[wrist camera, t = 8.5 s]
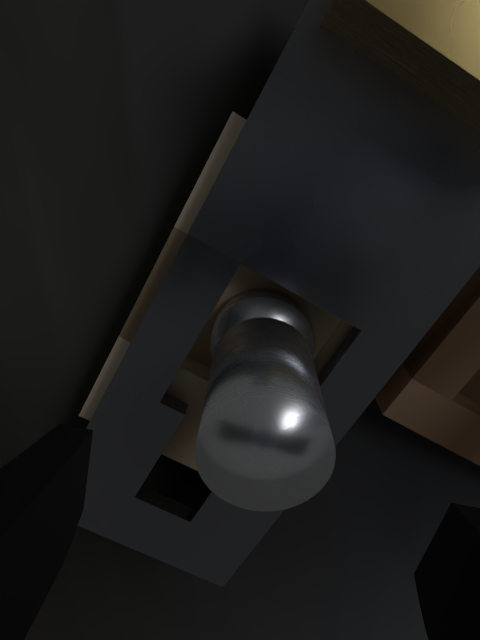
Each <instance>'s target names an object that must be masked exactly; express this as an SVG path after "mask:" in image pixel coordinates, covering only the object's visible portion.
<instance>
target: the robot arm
mask: <svg viewBox="0 0 480 640" xmlns="http://www.w3.org/2000/svg"><path fill="white" fill-rule="evenodd" d="M92 435H93V430H89V429H84V428H80V427H75V426H70V425H65V424H60V425H59V426H57V427H55V428H54V429H52V430H51V431H50V432H49V433H47V434H46V435H45V436H43V437H42V438H41V439H39V440H38V441H37V442H36V443H34V444H33V445H32V446H30V447H29V448H28V449H26V450H25V451H24V452H22V453H21V454H20V455H18V456H17V457H16V458H14V459H13V460H12V461H10V462H9V463H8V464H6V465H5V466H4V467H2V468H1V469H0V640H24V639H25V637H26V635H27V633H28V631H29V629H30V627H31V625H32V623H33V621H34V619H35V617H36V615H37V613H38V612H39V610H40V608H41V606H42V604H43V602H44V600H45V598H46V596H47V594H48V592H49V590H50V588H51V586H52V584H53V582H54V580H55V578H56V576H57V574H58V572H59V570H60V568H61V566H62V564H63V562H64V559H65V557H66V554H67V552H68V549H69V547H70V544H71V542H72V539H73V536H74V534H75V531H76V528H77V526H78V523H79V521H80V518H81V515H82V513H83V509H84V501H85V493H86V484H87V476H88V468H89V460H90V451H91V443H92ZM414 577H415V582H416V587H417V592H418V597H419V602H420V607H421V611H422V616H423V620H424V624H425V629H426V632H427V636H428V639H429V640H480V508H475V507H470V506H465V505H460V504H455V503H451V505H450V507H449V508H448V510H447V512H446V514H445V516H444V518H443V520H442V522H441V524H440V526H439V527H438V529H437V531H436V533H435V535H434V537H433V539H432V541H431V543H430V545H429V546H428V548H427V550H426V552H425V554H424V556H423V558H422V560H421V562H420V564H419V566H418V567H417V569H416V571H415V573H414Z"/></svg>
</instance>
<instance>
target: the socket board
mask: <svg viewBox="0 0 480 640" xmlns="http://www.w3.org/2000/svg"><path fill="white" fill-rule="evenodd" d="M246 121H247V120H246V119H244V118H243V117H241V116H240V115H238V114H236V113H235V112H232V114H231V115H230V117H229V119H228V121H227V123H226V125H225V127H224V129H223V131H222V133H221V135H220V137H219V139H218V141H217V143H216V145H215V147H214V149H213V151H212V153H211V155H210V157H209V159H208V161H207V163H206V165H205V167H204V169H203V171H202V173H201V175H200V177H199V179H198V181H197V183H196V185H195V187H194V189H193V191H192V193H191V195H190V196H189V198H188V200H187V202H186V204H185V206H184V208H183V210H182V212H181V214H180V216H179V218H178V220H177V222H176V224H175V226H174V228H173V230H172V232H171V234H170V236H169V238H168V240H167V242H166V244H165V246H164V248H163V250H162V252H161V254H160V256H159V258H158V260H157V262H156V264H155V266H154V268H153V270H152V272H151V274H150V276H149V277H148V279H147V281H146V283H145V285H144V287H143V289H142V291H141V293H140V295H139V297H138V299H137V301H136V303H135V305H134V307H133V309H132V311H131V313H130V315H129V317H128V319H127V321H126V323H125V325H124V327H123V329H122V331H121V333H120V335H119V337H118V339H117V341H116V343H115V345H114V347H113V349H112V351H111V353H110V355H109V357H108V358H107V360H106V362H105V364H104V366H103V368H102V370H101V372H100V374H99V376H98V378H97V380H96V382H95V384H94V386H93V388H92V390H91V392H90V394H89V396H88V398H87V400H86V402H85V404H84V406H83V408H82V410H81V412H80V414H79V416H81V417H83V418H85V419H87V420H89V421H90V420H91V418H92V416H93V414H94V412H95V410H96V409H97V407H98V405H99V403H100V401H101V399H102V397H103V395H104V393H105V391H106V389H107V387H108V385H109V384H110V382H111V380H112V378H113V376H114V374H115V372H116V370H117V368H118V366H119V364H120V362H121V361H122V359H123V357H124V355H125V353H126V351H127V349H128V347H129V345H130V343H131V341H132V339H133V338H134V336H135V334H136V332H137V330H138V328H139V326H140V324H141V322H142V320H143V318H144V316H145V314H146V313H147V311H148V309H149V307H150V305H151V303H152V301H153V299H154V297H155V295H156V293H157V291H158V290H159V288H160V286H161V284H162V282H163V280H164V278H165V276H166V274H167V272H168V270H169V268H170V267H171V265H172V263H173V261H174V259H175V257H176V255H177V253H178V251H179V249H180V247H181V245H182V243H183V242H184V240H185V238H186V236H187V234H188V232H189V230H190V228H191V226H192V224H193V222H194V220H195V219H196V217H197V215H198V213H199V211H200V209H201V207H202V205H203V203H204V201H205V199H206V197H207V195H208V194H209V192H210V190H211V188H212V186H213V184H214V182H215V180H216V178H217V176H218V174H219V172H220V171H221V169H222V167H223V165H224V163H225V161H226V159H227V157H228V155H229V153H230V151H231V149H232V148H233V146H234V144H235V142H236V140H237V138H238V136H239V134H240V132H241V130H242V128H243V126H244V124H245V123H246ZM254 288H270V289H275V290H278V291H281V292H283V293H285V294H287V295H289V296H291V297H292V298H293V299H295V300H296V301H297V302H298V303H299V304H300V305H301V306H302V308H303V309H304V311H305V313H306V315H307V317H308V320H309V323H310V326H311V330H312V333H313V339H314V348H313V354H312V357H313V361H314V365H315V369H316V373H317V377H318V375H319V374H320V373H321V371H322V370H323V368H324V367H325V366H326V364H327V363H328V362H329V360H330V359H331V357H332V356H333V355H334V353H335V352H336V350H337V349H338V348H339V346H340V345H341V344H342V342H343V341H344V339H345V338H346V337H347V335H348V334H349V333H350V331H351V330H352V328H353V327H354V326H353V325H351V324H349V323H347V322H345V321H344V320H342V319H340V318H338V317H336V316H335V315H333V314H331V313H329V312H327V311H326V310H324V309H322V308H320V307H319V306H317V305H315V304H313V303H311V302H310V301H308V300H306V299H304V298H302V297H301V296H299V295H297V294H295V293H293V292H292V291H290V290H288V289H286V288H284V287H283V286H281V285H279V284H277V283H276V282H274V281H272V280H270V279H268V278H267V277H265V276H263V275H261V274H259V273H258V272H256V271H254V270H252V269H250V268H249V267H247V266H245V265H243V264H240V265H239V267H238V269H237V270H236V272H235V274H234V276H233V277H232V279H231V281H230V282H229V284H228V286H227V288H226V289H225V291H224V293H223V295H222V296H221V298H220V300H219V301H218V303H217V305H216V307H215V308H214V310H213V312H212V313H211V315H210V317H209V319H208V320H207V322H206V324H205V325H204V327H203V329H202V331H201V332H200V334H199V336H198V337H197V339H196V341H195V343H194V344H193V346H192V348H191V349H190V351H189V353H188V355H187V356H186V358H185V360H184V361H183V363H182V365H181V367H180V368H179V370H178V372H177V373H176V375H175V377H174V379H173V380H172V382H171V384H170V385H169V387H168V389H167V391H166V392H165V393H167V394H169V395H171V396H173V397H175V398H177V399H179V400H181V401H183V402H185V403H187V404H188V406H187V410H186V414H185V416H184V418H183V420H182V421H181V423H180V425H179V426H178V428H177V429H176V431H175V433H174V434H173V436H172V438H171V439H170V441H169V442H168V444H167V446H166V447H165V449H164V450H163V452H162V455H164V456H166V457H169V458H171V459H173V460H175V461H177V462H179V463H181V464H184V465H186V466H188V467H190V468H192V469H194V470H196V471H198V469H197V466H196V461H195V447H196V441H197V436H198V431H199V426H200V421H201V416H202V411H203V405H204V400H205V395H206V390H207V385H208V380H209V375H210V370H211V364H212V359H213V358H212V354H211V347H210V340H211V334H212V330H213V325H214V321H215V318H216V316H217V314H218V312H219V310H220V309H221V307H222V306H223V305H224V304H225V303H226V302H227V301H228V300H229V299H230V298H232V297H233V296H235V295H236V294H238V293H240V292H243V291H246V290H249V289H254Z"/></svg>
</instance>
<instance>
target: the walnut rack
mask: <svg viewBox="0 0 480 640" xmlns="http://www.w3.org/2000/svg"><path fill="white" fill-rule="evenodd" d="M375 399H376V401H377V404H378V406H379V408H380V410H381V412H382V415H384V416H386V417H388V418H390V419H392V420H394V421H395V422H397V423H399V424H401V425H403V426H405V427H407V428H409V429H411V430H412V431H414V432H416V433H418V434H420V435H422V436H424V437H426V438H428V439H430V440H431V441H433V442H435V443H437V444H439V445H441V446H443V447H445V448H447V449H449V450H450V451H452V452H454V453H456V454H458V455H460V456H462V457H464V458H466V459H467V460H469V461H471V462H473V463H475V464H477V465H479V466H480V267H479V268H478V269H477V270H476V272H475V273H474V274H473V275H472V277H471V278H470V279H469V280H468V282H467V283H466V284H465V285H464V287H463V288H462V289H461V290H460V292H459V293H458V294H457V295H456V297H455V298H454V299H453V300H452V302H451V303H450V304H449V305H448V307H447V308H446V309H445V310H444V312H443V313H442V314H441V315H440V317H439V318H438V319H437V320H436V322H435V323H434V324H433V325H432V327H431V328H430V329H429V330H428V332H427V333H426V334H425V335H424V337H423V338H422V339H421V340H420V342H419V343H418V344H417V345H416V347H415V348H414V349H413V350H412V352H411V353H410V354H409V355H408V357H407V358H406V359H405V360H404V362H403V363H402V364H401V365H400V367H399V368H398V369H397V370H396V372H395V373H394V374H393V375H392V377H391V378H390V379H389V380H388V382H387V383H386V384H385V385H384V387H383V388H382V389H381V390H380V392H379V393H378V394H377V395H376V397H375Z"/></svg>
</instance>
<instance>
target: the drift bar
mask: <svg viewBox="0 0 480 640" xmlns="http://www.w3.org/2000/svg"><path fill="white" fill-rule="evenodd" d="M240 264H243V265H245V266H247V267H249V268H250V269H252V270H254V271H256V272H258V273H259V274H261V275H263V276H265V277H267V278H268V279H270V280H272V281H274V282H276V283H277V284H279V285H281V286H283V287H284V288H286V289H288V290H290V291H292V292H293V293H295V294H297V295H299V296H301V297H302V298H304V299H306V300H308V301H310V302H311V303H313V304H315V305H317V306H319V307H320V308H322V309H324V310H326V311H327V312H329V313H331V314H333V315H335V316H336V317H338V318H340V319H342V320H344V321H345V322H347V323H349V324H351V325H353V326H354V327H353V328H352V330H351V331H350V333H349V334H348V335H347V337H346V338H345V339H344V341H343V342H342V344H341V345H340V346H339V348H338V349H337V350H336V352H335V353H334V355H333V356H332V357H331V359H330V360H329V362H328V363H327V364H326V366H325V367H324V368H323V370H322V371H321V373H320V374H319V375H318V381H319V385H320V389H321V393H322V397H323V400H324V404H325V408H326V412H327V416H328V420H329V424H330V428H331V432H332V436H333V440H334V444H335V447H336V445H337V444H338V443H339V442H340V440H341V439H342V438H343V437H344V435H345V434H346V433H347V432H348V430H349V429H350V428H351V427H352V425H353V424H354V423H355V422H356V420H357V419H358V418H359V417H360V415H361V414H362V413H363V412H364V410H365V409H366V408H367V407H368V405H369V404H370V403H371V402H372V400H373V399H374V398H375V397H376V395H377V394H378V393H379V392H380V390H381V389H382V388H383V387H384V385H385V384H386V383H387V382H388V380H389V379H390V378H391V377H392V375H393V374H394V373H395V372H396V370H397V369H398V368H399V367H400V365H401V364H402V363H403V362H404V360H405V359H406V358H407V357H408V355H409V354H410V353H411V352H412V350H413V349H414V348H415V347H416V345H417V344H418V343H419V342H420V340H421V339H422V338H423V337H424V335H425V334H426V333H427V332H428V330H429V329H430V328H431V327H432V325H433V324H434V323H435V322H436V320H437V319H438V318H439V317H440V315H441V314H442V313H443V312H444V310H445V309H446V308H447V307H448V305H449V304H450V303H451V302H452V300H453V299H454V298H455V297H456V295H457V294H458V293H459V292H460V290H461V289H462V288H463V287H464V285H465V284H466V283H467V282H468V280H469V279H470V278H471V277H472V275H473V274H474V273H475V272H476V270H477V269H478V268H479V267H480V0H309V2H308V4H307V5H306V7H305V9H304V11H303V13H302V15H301V17H300V19H299V21H298V23H297V25H296V27H295V29H294V30H293V32H292V34H291V36H290V38H289V40H288V42H287V44H286V46H285V48H284V50H283V52H282V53H281V55H280V57H279V59H278V61H277V63H276V65H275V67H274V69H273V71H272V73H271V75H270V76H269V78H268V80H267V82H266V84H265V86H264V88H263V90H262V92H261V94H260V96H259V98H258V100H257V101H256V103H255V105H254V107H253V109H252V111H251V113H250V115H249V117H248V119H247V121H246V123H245V124H244V126H243V128H242V130H241V132H240V134H239V136H238V138H237V140H236V142H235V144H234V146H233V148H232V149H231V151H230V153H229V155H228V157H227V159H226V161H225V163H224V165H223V167H222V169H221V171H220V172H219V174H218V176H217V178H216V180H215V182H214V184H213V186H212V188H211V190H210V192H209V194H208V195H207V197H206V199H205V201H204V203H203V205H202V207H201V209H200V211H199V213H198V215H197V217H196V219H195V220H194V222H193V224H192V226H191V228H190V230H189V232H188V234H187V236H186V238H185V240H184V242H183V243H182V245H181V247H180V249H179V251H178V253H177V255H176V257H175V259H174V261H173V263H172V265H171V267H170V268H169V270H168V272H167V274H166V276H165V278H164V280H163V282H162V284H161V286H160V288H159V290H158V291H157V293H156V295H155V297H154V299H153V301H152V303H151V305H150V307H149V309H148V311H147V313H146V314H145V316H144V318H143V320H142V322H141V324H140V326H139V328H138V330H137V332H136V334H135V336H134V338H133V339H132V341H131V343H130V345H129V347H128V349H127V351H126V353H125V355H124V357H123V359H122V361H121V362H120V364H119V366H118V368H117V370H116V372H115V374H114V376H113V378H112V380H111V382H110V384H109V385H108V387H107V389H106V391H105V393H104V395H103V397H102V399H101V401H100V403H99V405H98V407H97V409H96V410H95V412H94V414H93V416H92V418H91V420H90V422H89V424H88V426H87V428H86V429H89V430H93V435H92V443H91V451H90V460H89V468H88V476H87V484H86V493H85V501H84V509H83V513H82V515H81V518H80V521H79V523H78V526H80V527H82V528H84V529H87V530H89V531H91V532H94V533H96V534H98V535H101V536H103V537H106V538H108V539H110V540H113V541H115V542H117V543H120V544H122V545H124V546H127V547H129V548H131V549H134V550H136V551H139V552H141V553H143V554H146V555H148V556H150V557H153V558H155V559H157V560H160V561H162V562H164V563H167V564H169V565H171V566H174V567H176V568H179V569H181V570H183V571H186V572H188V573H190V574H193V575H195V576H197V577H200V578H202V579H204V580H207V581H209V582H212V583H214V584H216V585H219V586H221V587H223V586H224V585H225V584H226V583H227V581H228V580H229V579H230V578H231V576H232V575H233V574H234V573H235V571H236V570H237V569H238V568H239V566H240V565H241V564H242V563H243V561H244V560H245V559H246V558H247V556H248V555H249V554H250V553H251V551H252V550H253V549H254V548H255V546H256V545H257V544H258V543H259V542H260V540H261V539H262V538H263V537H264V535H265V534H266V533H267V532H268V530H269V529H270V528H271V527H272V525H273V524H274V523H275V522H276V520H277V519H278V518H279V517H280V515H281V514H282V513H283V512H284V510H285V509H284V510H278V511H265V512H264V511H253V510H247V509H243V508H240V507H237V506H234V505H232V504H230V503H228V502H226V501H224V500H222V499H221V498H220V497H218V496H217V495H216V494H214V493H213V492H212V491H211V490H210V489H209V488H208V487H207V489H206V490H205V492H204V493H203V495H202V496H201V497H200V499H199V500H198V502H197V503H196V505H195V506H194V508H191V507H188V506H186V505H184V504H182V503H180V502H177V501H175V500H173V499H171V498H168V497H166V496H164V495H162V494H160V493H157V492H155V491H153V490H151V489H148V488H146V487H144V486H142V484H143V483H144V481H145V480H146V478H147V476H148V475H149V473H150V472H151V470H152V468H153V467H154V465H155V463H156V462H157V460H158V459H159V457H160V455H161V454H162V452H163V450H164V449H165V447H166V446H167V444H168V442H169V441H170V439H171V438H172V436H173V434H174V433H175V431H176V429H177V428H178V426H179V425H180V423H181V421H182V420H183V418H184V416H185V414H186V410H187V406H188V404H187V403H185V402H183V401H181V400H179V399H177V398H175V397H173V396H171V395H169V394H167V393H165V392H166V391H167V389H168V387H169V385H170V384H171V382H172V380H173V379H174V377H175V375H176V373H177V372H178V370H179V368H180V367H181V365H182V363H183V361H184V360H185V358H186V356H187V355H188V353H189V351H190V349H191V348H192V346H193V344H194V343H195V341H196V339H197V337H198V336H199V334H200V332H201V331H202V329H203V327H204V325H205V324H206V322H207V320H208V319H209V317H210V315H211V313H212V312H213V310H214V308H215V307H216V305H217V303H218V301H219V300H220V298H221V296H222V295H223V293H224V291H225V289H226V288H227V286H228V284H229V282H230V281H231V279H232V277H233V276H234V274H235V272H236V270H237V269H238V267H239V265H240Z"/></svg>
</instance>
